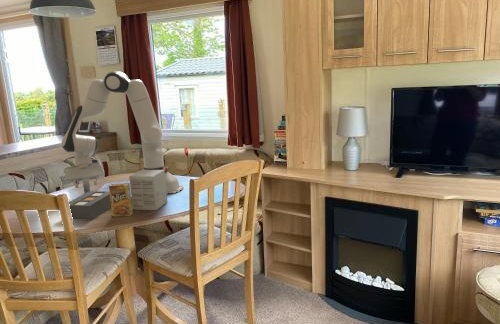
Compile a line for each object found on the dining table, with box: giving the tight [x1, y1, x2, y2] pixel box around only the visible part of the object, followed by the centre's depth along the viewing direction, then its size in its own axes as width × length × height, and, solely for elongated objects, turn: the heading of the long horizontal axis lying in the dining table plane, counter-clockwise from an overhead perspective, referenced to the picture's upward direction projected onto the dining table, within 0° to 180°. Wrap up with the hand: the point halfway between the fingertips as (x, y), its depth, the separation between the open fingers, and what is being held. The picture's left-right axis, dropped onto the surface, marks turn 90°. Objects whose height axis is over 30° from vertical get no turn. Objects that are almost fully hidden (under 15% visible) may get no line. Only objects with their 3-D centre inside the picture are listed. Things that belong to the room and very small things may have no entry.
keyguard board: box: [68, 190, 111, 221], centre depth 192 cm, size 14×22×7 cm, turn 171°
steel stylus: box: [82, 178, 91, 194], centre depth 209 cm, size 3×3×12 cm
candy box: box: [108, 182, 134, 217], centre depth 184 cm, size 9×4×15 cm, turn 89°
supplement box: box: [128, 169, 168, 211], centre depth 195 cm, size 13×13×18 cm
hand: (86, 186), depth 210 cm, fingers open, 8 cm apart
